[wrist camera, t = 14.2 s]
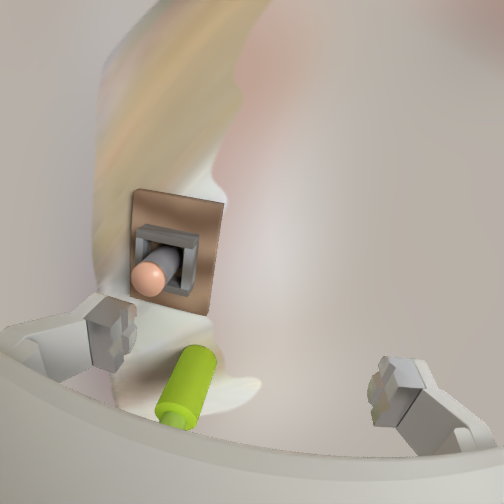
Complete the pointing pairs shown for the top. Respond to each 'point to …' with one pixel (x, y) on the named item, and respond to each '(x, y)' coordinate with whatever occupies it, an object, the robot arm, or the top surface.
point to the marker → (157, 269)
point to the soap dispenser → (186, 388)
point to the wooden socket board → (177, 234)
